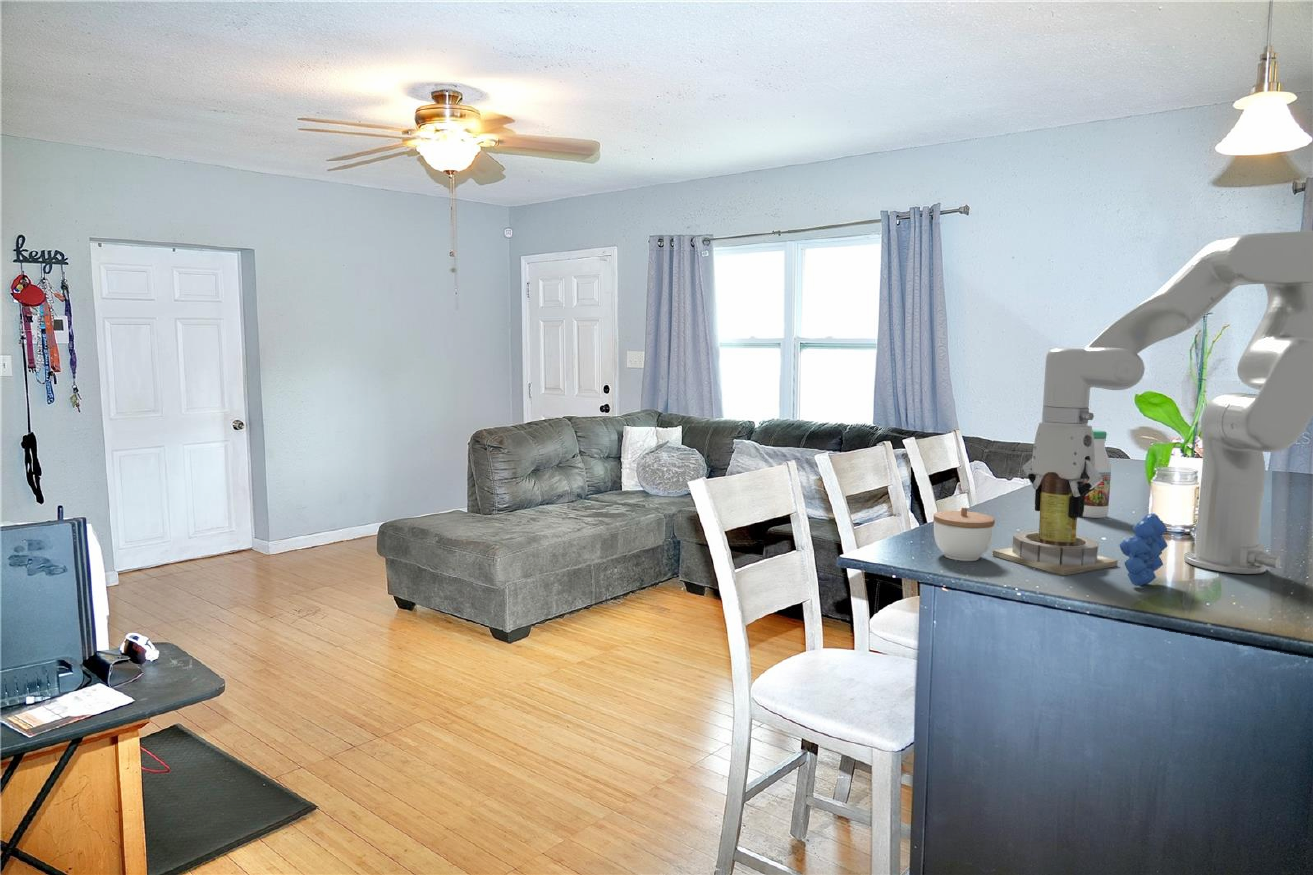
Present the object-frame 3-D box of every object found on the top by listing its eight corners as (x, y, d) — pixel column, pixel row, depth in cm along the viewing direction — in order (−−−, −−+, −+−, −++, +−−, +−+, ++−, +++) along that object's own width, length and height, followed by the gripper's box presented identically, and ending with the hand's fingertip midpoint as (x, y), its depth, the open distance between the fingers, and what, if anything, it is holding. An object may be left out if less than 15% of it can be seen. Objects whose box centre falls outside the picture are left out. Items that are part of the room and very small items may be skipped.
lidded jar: (961, 547, 167) (964, 500, 165) (1005, 561, 157) (1008, 511, 156) (919, 552, 162) (921, 504, 161) (961, 567, 152) (964, 515, 151)
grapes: (1130, 573, 150) (1135, 506, 149) (1172, 581, 145) (1178, 512, 144) (1101, 584, 143) (1107, 514, 141) (1145, 594, 138) (1151, 521, 136)
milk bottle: (1063, 512, 203) (1069, 429, 200) (1089, 511, 205) (1095, 428, 203) (1088, 519, 195) (1095, 432, 193) (1115, 517, 198) (1122, 432, 195)
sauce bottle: (1079, 554, 154) (1087, 444, 151) (1042, 551, 155) (1049, 443, 152) (1069, 545, 160) (1076, 440, 158) (1033, 543, 161) (1040, 439, 159)
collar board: (1117, 565, 155) (1119, 544, 154) (1063, 575, 148) (1065, 553, 147) (1045, 547, 168) (1046, 527, 167) (992, 555, 161) (993, 534, 160)
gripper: (1123, 420, 149) (1115, 521, 151) (1037, 412, 164) (1031, 503, 166) (1096, 421, 145) (1088, 525, 147) (1010, 413, 160) (1005, 507, 162)
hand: (1058, 513), depth 157 cm, fingers closed on sauce bottle, 6 cm apart
